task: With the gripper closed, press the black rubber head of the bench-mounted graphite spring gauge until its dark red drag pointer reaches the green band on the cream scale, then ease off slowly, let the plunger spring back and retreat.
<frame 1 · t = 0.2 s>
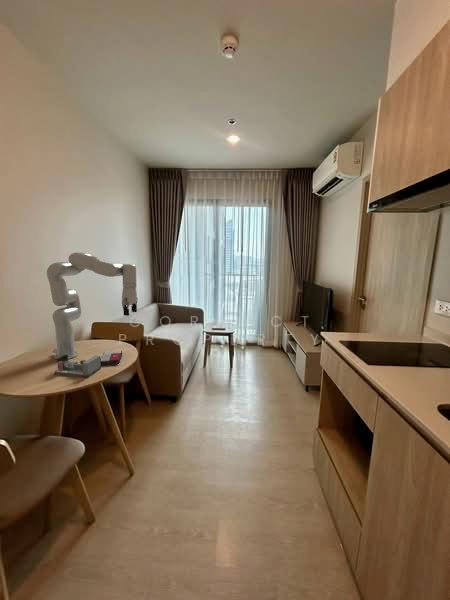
hand: (130, 313, 155), 31 cm above the table, tool pointing down, fingers open, 9 cm apart
drag pointer: (60, 366, 141), point 5 cm above the table, slide at 0.0 cm
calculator: (111, 361, 162), on the table
gauge housing: (78, 371, 145), on the table
plunger: (66, 363, 144), point 5 cm above the table, slide at 0.0 cm
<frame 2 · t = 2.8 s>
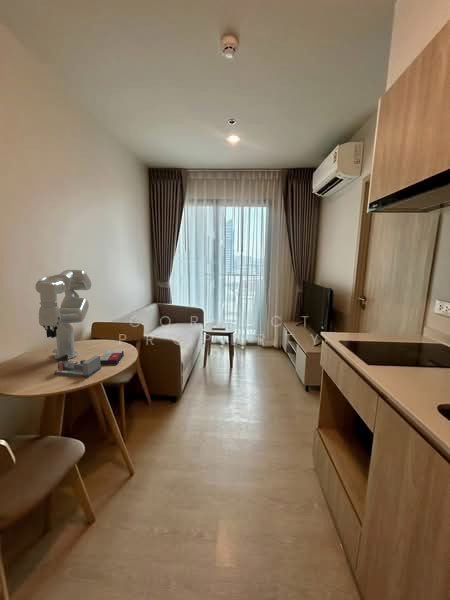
hand: (51, 336, 144), 19 cm above the table, tool pointing down, fingers closed
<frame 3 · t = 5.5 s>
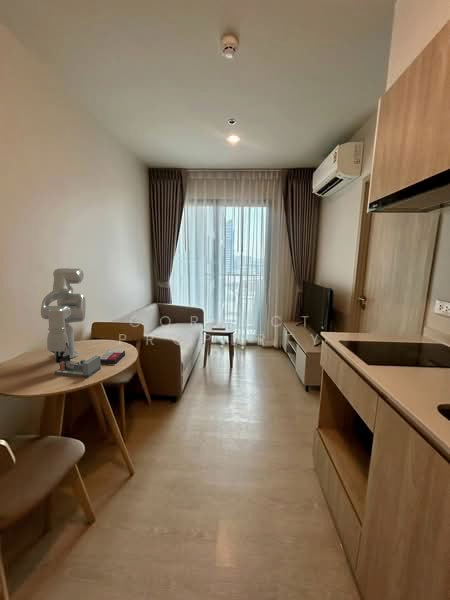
hand: (59, 362, 146), 5 cm above the table, tool pointing down, fingers closed
drag pointer: (62, 366, 141), point 5 cm above the table, slide at 1.0 cm, touching plunger
plunger: (69, 363, 144), point 5 cm above the table, slide at 1.3 cm, touching drag pointer, gripper
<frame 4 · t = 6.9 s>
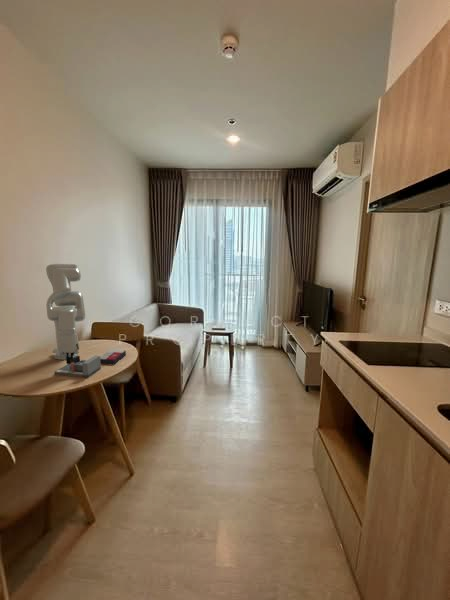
hand: (69, 362, 145), 5 cm above the table, tool pointing down, fingers closed
drag pointer: (72, 367, 140), point 5 cm above the table, slide at 7.2 cm
plunger: (79, 364, 143), point 5 cm above the table, slide at 7.5 cm, touching gauge housing, gripper
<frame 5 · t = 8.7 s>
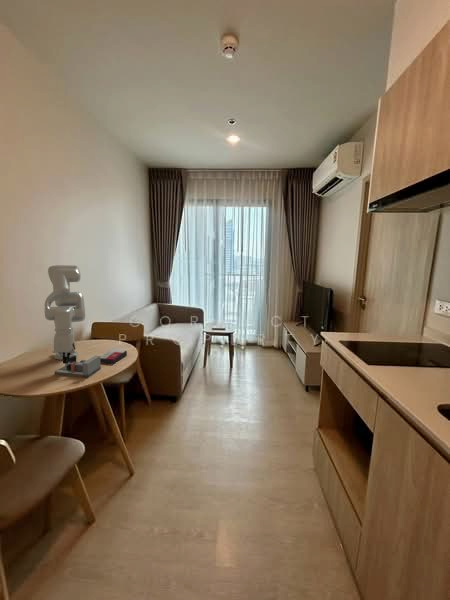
hand: (66, 362, 145), 5 cm above the table, tool pointing down, fingers closed
plunger: (75, 363, 143), point 5 cm above the table, slide at 5.3 cm, touching gripper
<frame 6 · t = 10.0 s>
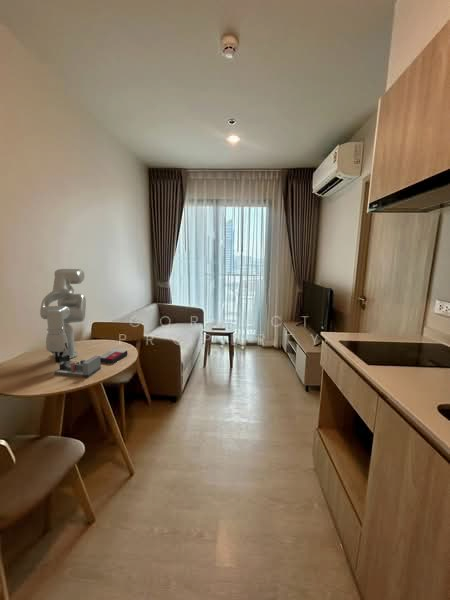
hand: (58, 362, 146), 4 cm above the table, tool pointing down, fingers closed
plunger: (68, 363, 144), point 5 cm above the table, slide at 1.1 cm
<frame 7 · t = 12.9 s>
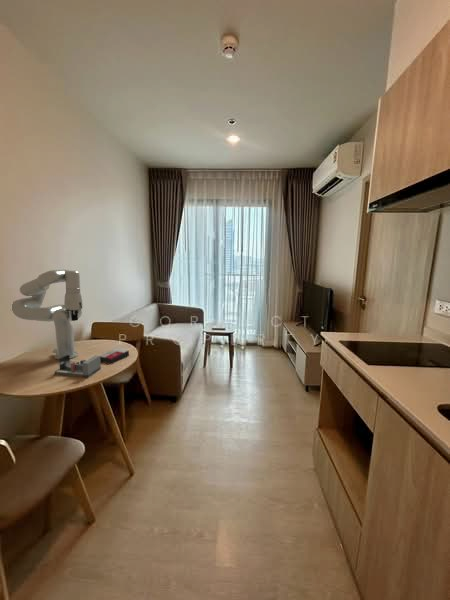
hand: (74, 320, 160), 24 cm above the table, tool pointing down, fingers closed
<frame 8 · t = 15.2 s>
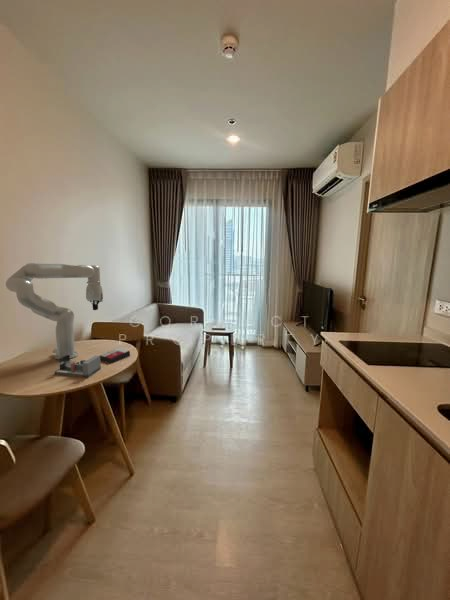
hand: (95, 309, 180), 27 cm above the table, tool pointing down, fingers closed
at the end: drag pointer slide at 7.2 cm; plunger slide at 1.1 cm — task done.
